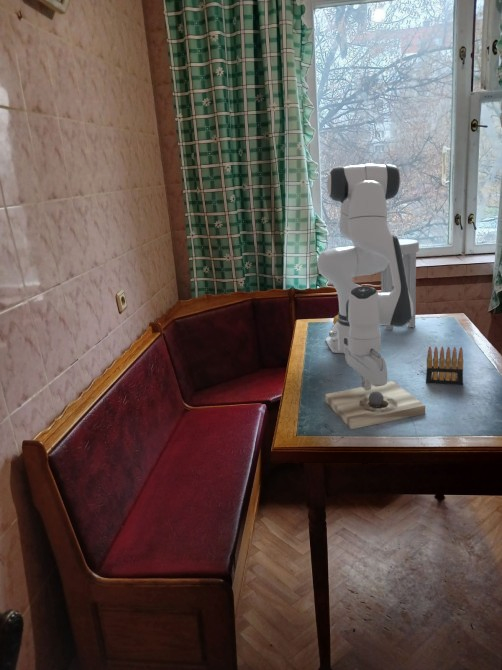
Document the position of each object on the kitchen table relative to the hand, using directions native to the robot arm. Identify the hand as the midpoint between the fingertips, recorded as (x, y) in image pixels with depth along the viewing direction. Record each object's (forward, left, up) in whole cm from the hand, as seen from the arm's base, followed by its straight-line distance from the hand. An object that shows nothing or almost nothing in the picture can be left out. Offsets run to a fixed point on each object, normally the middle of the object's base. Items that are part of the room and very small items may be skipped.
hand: (365, 388), depth 145 cm
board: (+4, 0, -4) cm, 6 cm away
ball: (+6, 0, -1) cm, 6 cm away
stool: (-60, +44, -4) cm, 74 cm away
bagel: (-69, +24, -5) cm, 73 cm away
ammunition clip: (-2, +27, -4) cm, 28 cm away
